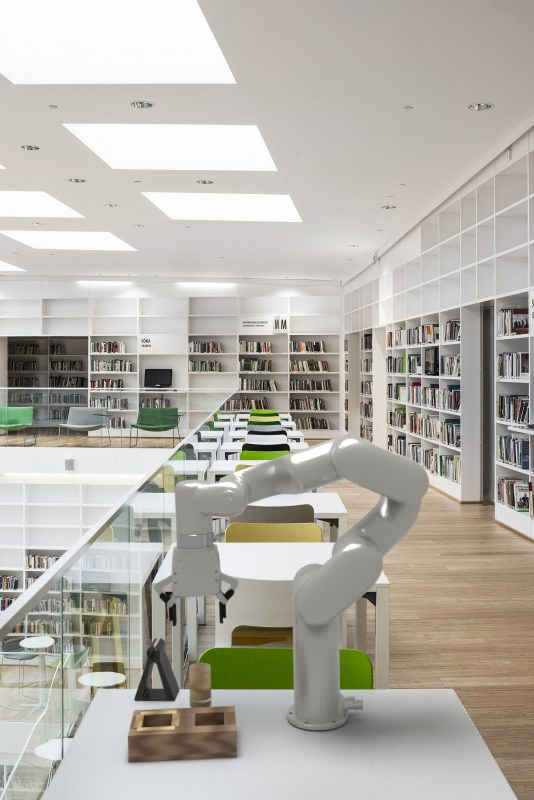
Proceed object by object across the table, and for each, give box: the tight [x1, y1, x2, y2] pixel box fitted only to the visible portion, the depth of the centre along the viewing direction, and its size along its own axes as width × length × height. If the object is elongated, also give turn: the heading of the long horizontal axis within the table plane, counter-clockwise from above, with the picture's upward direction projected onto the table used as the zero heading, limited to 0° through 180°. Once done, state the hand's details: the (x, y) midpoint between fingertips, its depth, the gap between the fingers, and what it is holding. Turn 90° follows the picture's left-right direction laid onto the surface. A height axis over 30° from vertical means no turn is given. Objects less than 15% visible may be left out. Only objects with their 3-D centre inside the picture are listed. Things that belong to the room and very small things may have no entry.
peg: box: [188, 662, 212, 708], centre depth 162 cm, size 4×4×11 cm
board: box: [127, 705, 238, 763], centre depth 151 cm, size 20×11×5 cm, turn 94°
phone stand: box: [133, 637, 180, 702], centre depth 175 cm, size 9×6×12 cm, turn 86°
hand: (198, 622), depth 162 cm, fingers open, 9 cm apart
